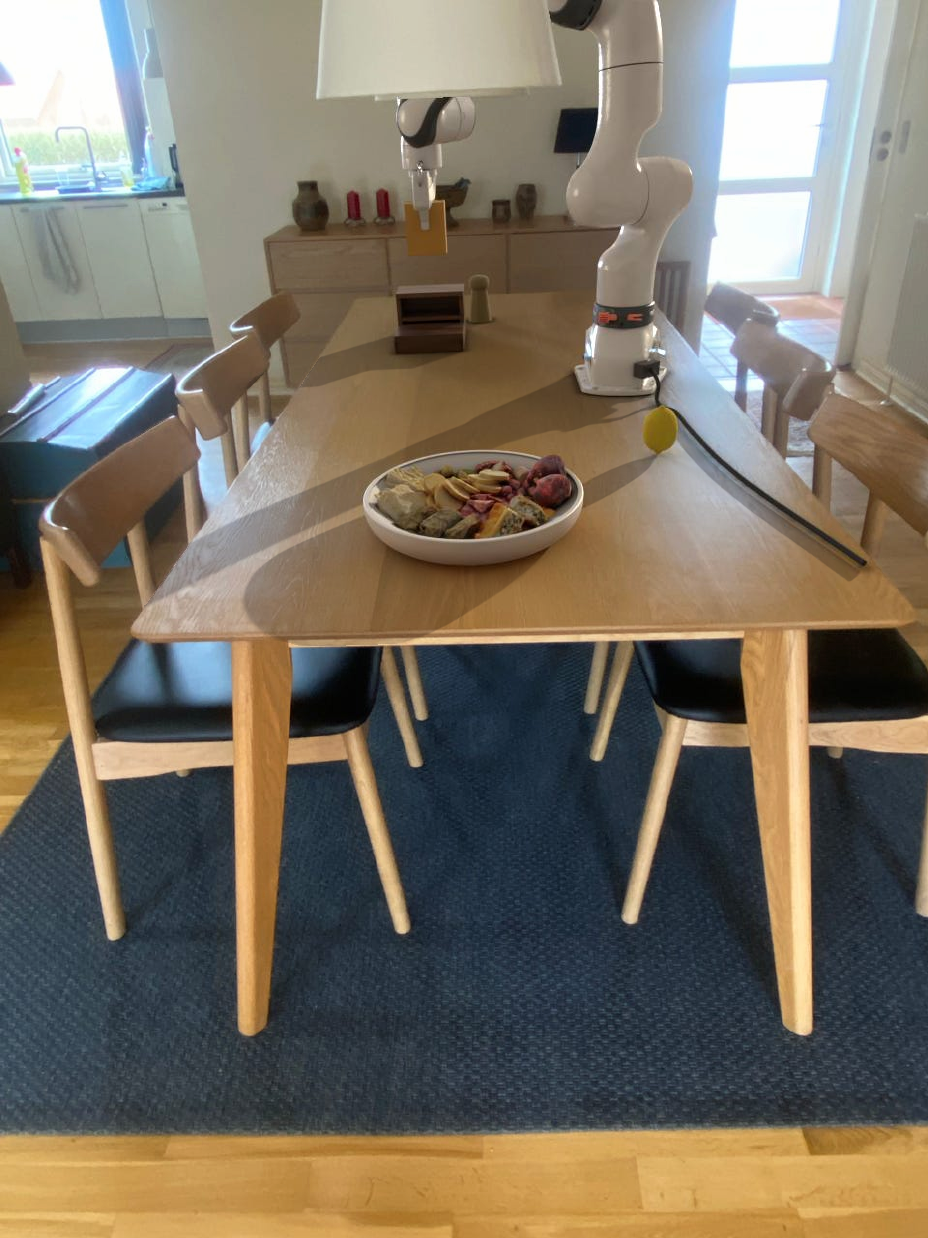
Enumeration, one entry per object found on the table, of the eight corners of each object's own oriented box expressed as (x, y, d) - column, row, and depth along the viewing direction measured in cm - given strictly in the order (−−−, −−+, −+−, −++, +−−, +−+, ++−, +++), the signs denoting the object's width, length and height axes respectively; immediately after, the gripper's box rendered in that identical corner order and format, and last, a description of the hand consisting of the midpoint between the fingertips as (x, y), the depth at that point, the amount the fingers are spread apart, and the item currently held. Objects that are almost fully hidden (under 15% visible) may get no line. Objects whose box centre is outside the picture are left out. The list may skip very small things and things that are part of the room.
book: (446, 254, 191) (443, 201, 185) (408, 256, 192) (404, 203, 186) (447, 251, 194) (444, 199, 188) (409, 253, 195) (405, 201, 189)
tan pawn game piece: (477, 316, 218) (475, 272, 212) (496, 318, 215) (495, 273, 209) (464, 321, 214) (462, 276, 208) (483, 323, 211) (481, 278, 205)
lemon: (634, 451, 134) (637, 403, 130) (662, 445, 136) (666, 397, 132) (653, 462, 130) (657, 413, 126) (682, 456, 132) (687, 407, 127)
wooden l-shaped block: (463, 351, 190) (461, 301, 184) (395, 353, 191) (390, 304, 185) (466, 329, 207) (464, 283, 201) (402, 332, 208) (399, 286, 202)
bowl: (411, 599, 99) (406, 541, 94) (340, 505, 122) (333, 455, 118) (624, 543, 108) (628, 487, 104) (521, 465, 131) (520, 418, 127)
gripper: (433, 162, 174) (437, 233, 181) (438, 155, 191) (442, 220, 198) (403, 163, 174) (409, 235, 181) (411, 156, 191) (416, 222, 199)
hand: (426, 227), depth 190 cm, fingers closed on book, 4 cm apart
